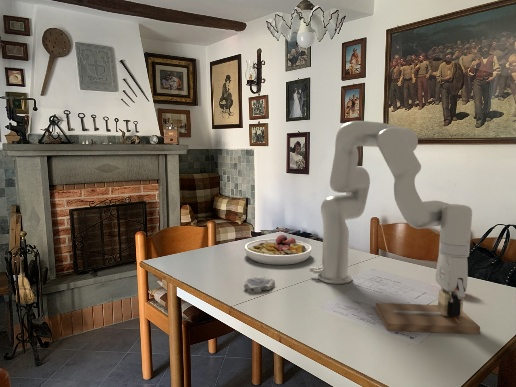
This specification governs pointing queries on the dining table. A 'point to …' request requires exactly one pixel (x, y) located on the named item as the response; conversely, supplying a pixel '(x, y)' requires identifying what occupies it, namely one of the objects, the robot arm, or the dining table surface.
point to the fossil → (258, 284)
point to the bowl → (278, 251)
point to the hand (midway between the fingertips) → (449, 311)
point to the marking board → (423, 319)
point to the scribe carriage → (446, 302)
